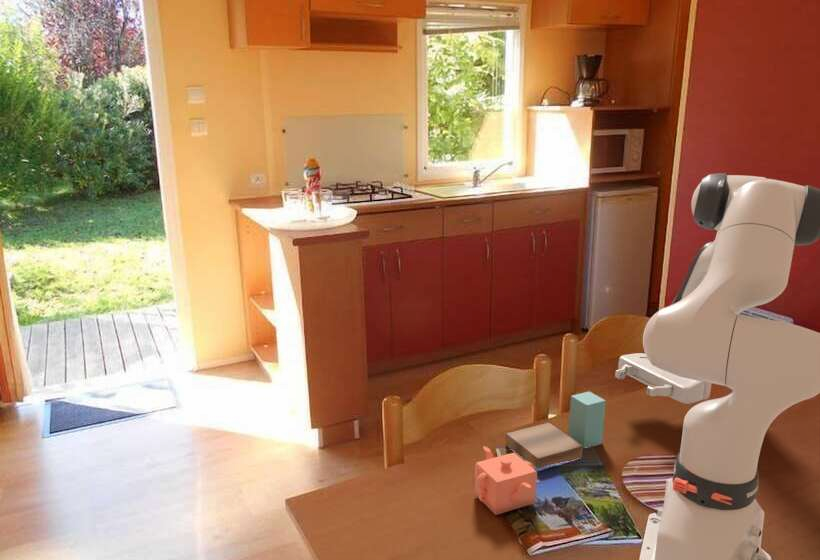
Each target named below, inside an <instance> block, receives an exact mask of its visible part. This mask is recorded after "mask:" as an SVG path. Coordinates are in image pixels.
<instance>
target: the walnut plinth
mask: <svg viewBox="0 0 820 560" xmlns="http://www.w3.org/2000/svg"><path fill="white" fill-rule="evenodd" d="M505 447H506V448H507V447H508V448H510V449H512V450H514V451H515V452H516V453H518V454H519V455H520V456H522V457H523V458H524V459H526V460H527V461H528V462H530V463H531V464H532V465H534V466H535V467H536V468H537V469H538V468H541V467H544V466H547V465H551V464H555V463H560V462H565V461H571V460H574V459H577V458H581V457H582V458H583V450H584V449H583V446H582V445H581V444H579V443H578V442H576V441H575V440H574V439H572V438H571V437H569V436H568V434H567V433H564V432H563V431H562V430H561V429H559V428H557V427H556V426H555V425H553V424H552V423H550V422H545V423H542V424H537V425H534V426H531V427H526V428H522V429H518V430H515V431H511V432H510V431H509V432H507V433H506V434H505ZM508 448H507V449H508ZM510 449H509V450H510Z"/></svg>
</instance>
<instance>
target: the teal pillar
mask: <svg viewBox="0 0 820 560" xmlns="http://www.w3.org/2000/svg"><path fill="white" fill-rule="evenodd" d="M606 402H607V400H605V399H604V398H602V397H601V396H599V395H597V394H594V393H593V392H592V391H589V390H588V391H585V392H582V393H577V394H573V395H570V405H569V419H568V420H569V422H568V430H567V431H568V434H567V435H568V436H569V437H571V438H572V439H574V440H575V441H576V442H578V443H579V444H581V445H582V446H583V448H585V447H589V446H593V447H595V446H596V447H597V446H598V445H602V444H603V439H604V426H605V411H606ZM589 448H590V447H589Z"/></svg>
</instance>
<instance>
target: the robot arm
mask: <svg viewBox="0 0 820 560" xmlns="http://www.w3.org/2000/svg"><path fill="white" fill-rule="evenodd" d="M690 202H691V213H692V217H693V218H692V219H693V221H694V222H695V224H697V226H699V227H701V228H702V229H703V228H704V229H705V230H708V231H711V232H713V231H714V230H715V231H717V232H716V235H715V239H714V240H713V241H709V242H707V243H705V244H704V245H703V246H702V247H701V248H700V249H699V250H698V251H697V252H696V255H695V257H694V258H693V260H692V262H691V264H690V266H689V269H688V271H687V273H686V275H685V278H684V280H683V282H682V283H681V284H682V285H681V287H680V289H679V291H678V293H677V295H676V296H675V297H674V299H673V300H672V302H671V303H670V305H668V306H665V307H663V308H661V309H659V310H658V311H656V312H655V313H654V314H653V315H652V316H651V317H650V319H648V321H647V323H646V324H645V327H644V330H643V335H642V346H643V351H644V352H638V353H637V352H636V353H630V354H629V353H628V354H623V355H620V357H619V359H618V369H617V370H615V372H614V373H615V374H614V377H615V378H617V379H618V380H624V379H626V378H627V377H626V376H629V377H631V378H632V379H635V380H637V381H638V382H640V383H642V384H644V385H646V386H647V387H646V394H647V395H649V396H650V397H656V396H659V397H669V398H672V399H673V400H675V401H677V402H680V403H682V404H687V405H689V404H693V403H697V404H695V405H694V406H693V407H691V408H690V409H689V410H688V411H687V413H686V414H685V416H684V418H683V425H682V432H681V433H682V435H681V443H680V449H679V452H678V453H677V456H676V460H675V463H674V465H673V466H674V467H673V475H672V477H670V478H667V479H666V481H665V483H666V484H665V491H664V492H665V493H664V501H663V507H662V508H661V507H657V509H656V512H653V513H650V514H648V517H647V522H646V526H645V531H644V536H643V540H642V543H641V544H642V545H641V549H640V554H639V559H638V560H772V557H771V555H770V554H769V553H767V552H766V551H765V550H764V549H763V548H761V545H762V540H763V539H762V537H763V529H764V521H765V511H764V510H763V508H762V506H760V504H759V503H758V500H757V499H756V497H757V492H758V490H759V483H760V481H759V471H758V463H759V457H760V453H761V449H762V447H763V446H762V445H763V442H764V439H765V435H766V433H767V431H768V429H769V427H770V425H771V424H772V423H773V421H774V420H775V419H776V418H777V417H778V416H780V415H781V413H783V412H784V411H786V410H787V409H788V408H790V407H792V406H793V405H796V404H798V403H800V402H803V401H807V400H809V399H812V398H814V397H816V396H817V395H818V394H820V332H818V331H815V330H813V329H809V328H807V327H803V326H802V325H799V324H798V325H796V324H794V323H791V322H789V321H788V322H787V321H780V320H776V319H775V320H774V319H767V318H760V317H755V316H748V315H741V313H742V312H744V311H746V310H748V309H750V308H754V307H759V306H762V305H765V304H768V303H770V302H772V301H774V300H775V299H776V298H778V297H779V296H780V295H781V294H783V292H784V291H785V289H786V288H787V286H788V282H789V276H790V271H791V266H792V259H793V255H794V249H795V246H809V245H812V244H813V243H815V242H817V241H818V240H819V239H820V188H817V187H815V186H812V185H807V184H806V185H800V184H798V183H797V184H796V183H793V182H788V181H784V180H778V179H773V178H766V177H764V176H755V175H743V174H742V175H739V174H733V175H732V174H730V175H729V174H728V175H727V173H726V172H719V173H710V174H708V175H706V176H704V177H702V179H701V181H700V183H699V184H698V185H697V187H696V188H695V189H694V192H693V194H692V198H691V201H690ZM712 384H714V385H719V386H724V387H725V388H729V389H731V391H732V392H730V393H729V394H727V395H725V396H723V397H720V398H719V397H718V398H713V399H709V397H710V394H711V389H712ZM700 401H702V402H700ZM698 402H699V403H698Z"/></svg>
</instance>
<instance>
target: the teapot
mask: <svg viewBox="0 0 820 560" xmlns="http://www.w3.org/2000/svg"><path fill="white" fill-rule="evenodd" d="M482 449H483V451H484V453H485V457H486V459H484V460H480V461H477V462H475V471H474V472H475V474H474V476H475V477H474V495H475V496H476V497H477V498H478V499H479V501H480V502H481V503H483V504H484V505H485V506H486V507H487V508H488V509H489V510H490V511H491V512H492V513H493V514H494V515H495V516H497V515H501V514H505V513H508V512H511V511H514V510H518V509H520V508H524V507H528V506H531V505H534V504H536V497H537V495H536V494H537V478H538V472H537V471H536V470H534V466H533V465H532V464H531V463H530V462H528V461H524V460H523V459H521V458H520V457H519V456H518V455H516V454H515V453H513V452H511V453H507V454H503V455H499V456H496V457H494V455H493V453H492V451H491V449H490V448H489V447H487V446H483V447H482Z"/></svg>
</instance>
